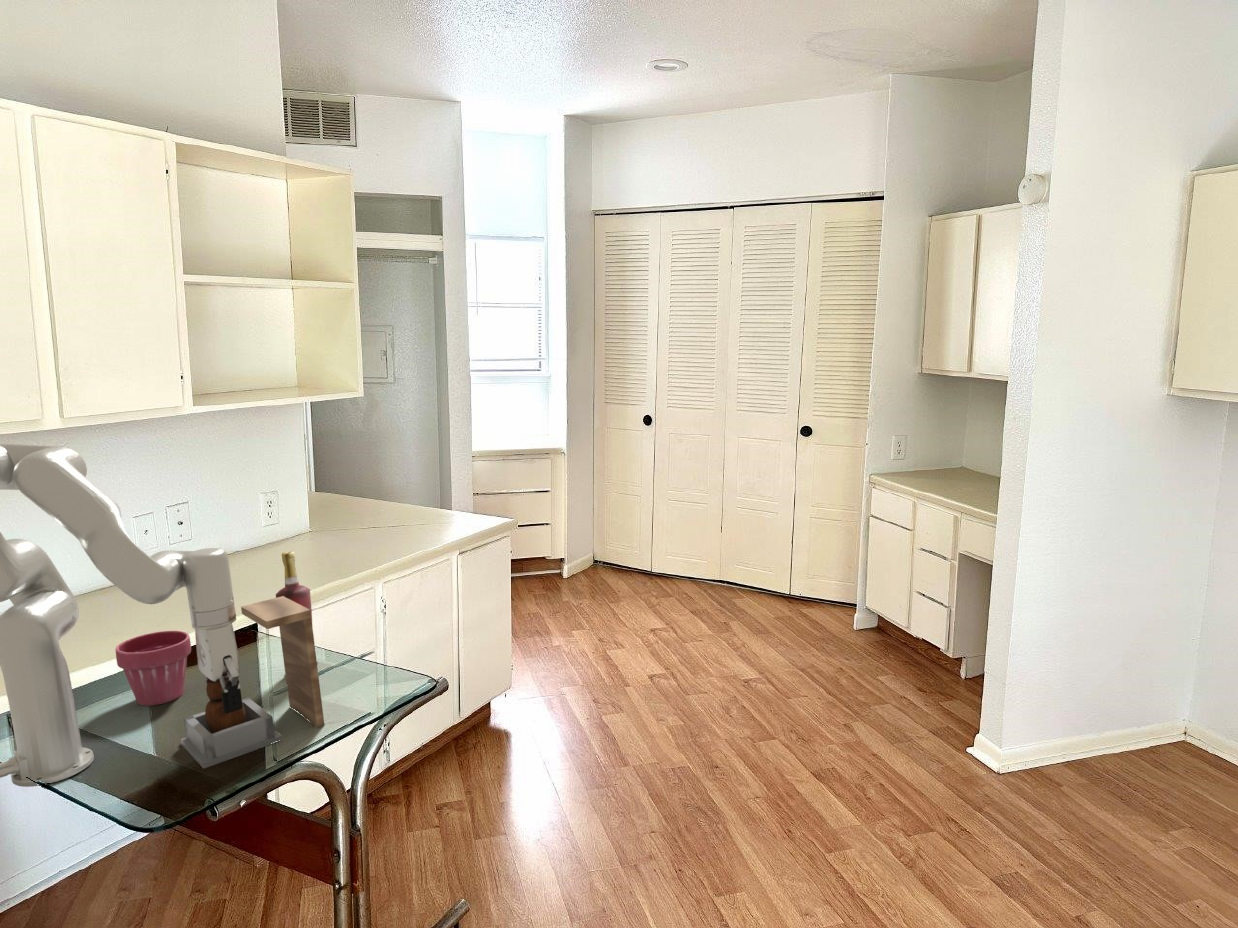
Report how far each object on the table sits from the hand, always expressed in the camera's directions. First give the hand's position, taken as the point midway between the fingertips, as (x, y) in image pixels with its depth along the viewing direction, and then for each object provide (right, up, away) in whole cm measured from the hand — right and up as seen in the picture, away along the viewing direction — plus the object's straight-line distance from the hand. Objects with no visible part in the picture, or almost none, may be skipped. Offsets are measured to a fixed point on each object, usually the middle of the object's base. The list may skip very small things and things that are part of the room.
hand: (225, 703), depth 160 cm
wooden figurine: (0, -7, +1) cm, 7 cm away
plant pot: (-26, -6, +25) cm, 37 cm away
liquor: (+2, -3, +35) cm, 35 cm away
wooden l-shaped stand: (+9, -6, +9) cm, 14 cm away
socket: (0, -8, +1) cm, 8 cm away
